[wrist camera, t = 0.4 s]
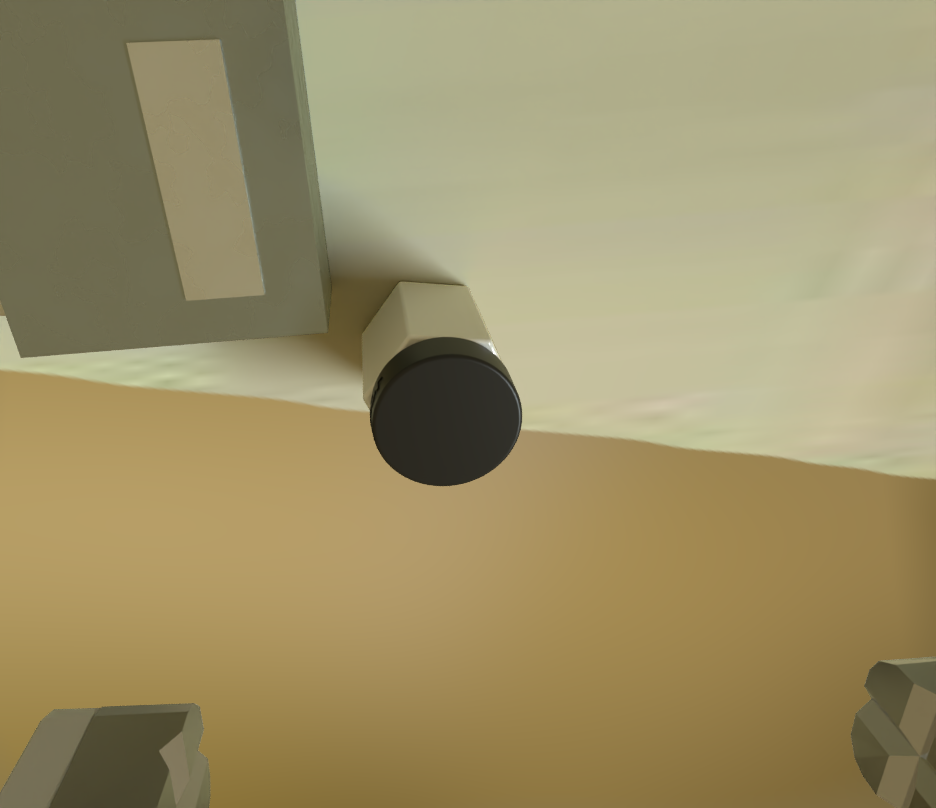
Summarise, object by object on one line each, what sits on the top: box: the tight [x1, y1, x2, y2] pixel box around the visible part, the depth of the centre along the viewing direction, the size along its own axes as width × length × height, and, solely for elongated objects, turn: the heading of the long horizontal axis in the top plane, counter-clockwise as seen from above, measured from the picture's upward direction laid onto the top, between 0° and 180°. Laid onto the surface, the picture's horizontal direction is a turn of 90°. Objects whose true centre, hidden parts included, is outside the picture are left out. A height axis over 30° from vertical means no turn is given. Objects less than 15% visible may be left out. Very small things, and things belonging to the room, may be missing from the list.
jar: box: [362, 281, 522, 486], centre depth 43 cm, size 9×8×12 cm
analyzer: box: [0, 0, 332, 358], centre depth 37 cm, size 17×16×8 cm
